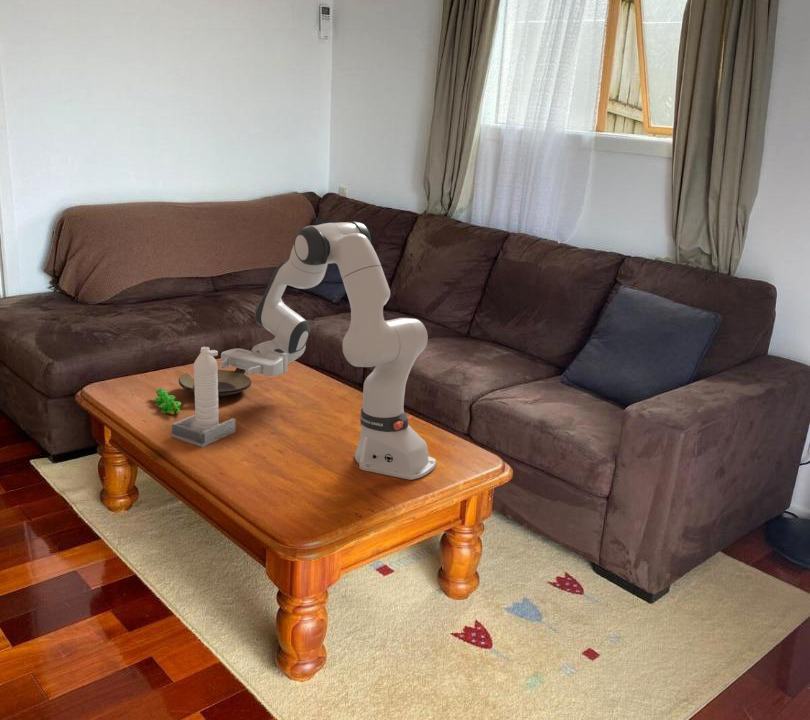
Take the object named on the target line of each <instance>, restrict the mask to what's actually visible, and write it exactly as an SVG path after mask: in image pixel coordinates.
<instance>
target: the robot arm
mask: <svg viewBox="0 0 810 720" xmlns="http://www.w3.org/2000/svg"><path fill="white" fill-rule="evenodd" d="M371 238H372V237H371V234H370V232H369V229H368V228H367V226H366V225H365V224H364V223H362V222H359V221H347V222H346V221H345V222H343V221H342V222H327V223H326V222H325V223H321V224H317V225H308V226H304V227H303V228H301V229H300V230H298V231H297V232H296V234H295V237H294V242H293V246H292V247H291V248H292V249H291V251H290V255H289V258H288V259H287V260H284V261H282V262H281V263H280V264H279V265H278V266H277V267H276V268H275V270H274V272H273V274H272V276H271V279H270V280H269V283H268V284H267V287H266V290H265V291H264V294H263V296H262V298H261V299H260V301H259V302H258V304H257V306H256V307H255V309H254V320H255V322H256V324H257V325H259V326H260V327H262V328H263V329H265V330H267V331H268V332H269V333H271V334H272V335H273V336H274V338H273V339H272V340H266V341H263V342H260V343H257V344H255V345H254V346H253V347H252V348H251V350H248V349H245V348H231V349H228V350H224V351H222V352H221V354H220V365H219V367H220V368H222V369H227V368H229V367H232V368H235V369H236V368H240V369H244V370H245V373H244V375H246V376H247V375H248V376H251V375H256V374H257V375H258V374H259V375H264V376H266V377H267V376H268V377H276V376H280V375H282V374H286V373H287V372H288V365H289V364H290V363H293V362H294V361H296V360H297V359H299V358H301V357H302V355H303V354H304V352H305V351H306V344H307V343H308V341H309V338H310V334H311V333H310V323H309V322H308V321H307V320H306V319H305V318H304V317H302V315H300V314H299V313H297V312H296V311H294V310H293V309H291V308H290V307H289V306H288V305H286V304H285V302H284V301H283V299H282V296H283V295H284V293H285V290H286V288H287V286H290V287H293V288H296V289H300V290H306V289H307V290H308V289H311V288H314V287H316V286H318V285H319V284H320V283H322V280H323V279H324V278H325V275H326V272H327V269H328V265H329V264H336V266H337V267H338V270H339V274H340V278H341V279H342V282H343V286H344V289H345V292H346V294H347V295H346V296H347V298H348V302H349V306H350V317H351V318H350V324H349V328H348V329H347V332H346V333H345V335H344V338H343V340H342V347H341V348H342V352H343V356H344V358H345V360H346V361H347V362H348V363H349V364H350V365H352V366H353V367H356V368H360V367H361V368H373V367H374V369H373V370H372V372H371V373H369V375H368V376H367V377H366V378H365V380H364V382H363V390H362V408H361V409H360V419H359V420H360V421H359V422H360V425H361V427H360V434H359V440H358V445H357V449H356V451H355V454H354V460H355V461H356V463H358V468H359V469H360V470H362V471H366V472H370V473H375V474H380V475H385V476H390V477H393V478H394V477H396V478H400V479H405V480H416V479H419V478H423V477H425V476H426V475H428V474H429V473H431V472H432V471H433V470H434V469H435V468H436V465H437V460H436V459H435V458H434V457H431V456H430V455H429V449H428V444H427V442H426V441H425V440H424V439H423V438H422V437H421V436H420V435H419V434H418V433H417V432H416V431H415V430H414V428H412V427H411V426H410V425H409V422H410V420H412V414H411V415H409V416H407V415H406V411H405V410H404V405H405V404H404V403H405V393H406V387H407V386H406V385H407V381H408V378H409V374H410V372H411V370H412V368H413V366H414V364H415V362H416V360H417V359H418V357H419V355H420V354H421V353H422V352H423V351H424V350H426V347H427V345H428V341H429V339H428V338H429V337H428V330H427V328H426V327H425V325H424V323H423V322H422V321H421V320H419V319H418V318H412V317H411V318H410V317H399V318H394V319H389V320H388V319H387V320H385V317H384V306H385V305H387V302H388V301H390V300H389V299H390V297H391V288H390V286H389V284H388V280H387V278H386V276H385V272H384V269H383V267H382V263H381V262H380V259H379V256H378V255H377V252H376V251H375V249H374V246H373V245H372V239H371Z"/></svg>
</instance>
